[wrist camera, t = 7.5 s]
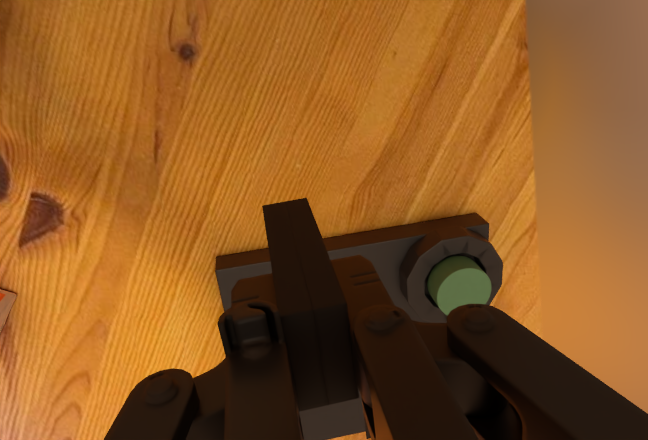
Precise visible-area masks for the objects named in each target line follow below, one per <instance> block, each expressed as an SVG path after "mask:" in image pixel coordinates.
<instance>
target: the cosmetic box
mask: <svg viewBox="0 0 648 440" xmlns="http://www.w3.org/2000/svg"><path fill="white" fill-rule="evenodd" d="M16 296H17V295H16V294H15V293H12V292H8V291H5V290H1V289H0V333H1V331H2V328H3V326H4V324H5V322H6V319H7V317H8V314H9V312H10V310H11V307H12V305H13V303H14V301H15V299H16Z"/></svg>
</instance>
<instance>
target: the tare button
mask: <svg viewBox="0 0 648 440" xmlns="http://www.w3.org/2000/svg"><path fill="white" fill-rule="evenodd" d="M427 287H428V291H429V294H430V295H431V297H432V298H433V300H434V301H435V303H436V304H437V305H438V307H439V308H440V310H441V311H442V312H443V313H444V314H446V315H448V314H449V313H450V311H451V310H453V309H455V308H456V307H458V306H462V305H466V304H486V302H487V301H488V299H489V297H490V294H491V281H490V279H489V277H488V276H487V274H486V273H485V272H484V271H483V270H482V269H481V268H480V267H479V266H478V265H477V264H476V263H475V262H474V261H473V260H472V259H470V258H468V257H465V256H451V257H448V258H446V259H444V260H442V261H440V262H439V263H438V264H437V265H436V266H435V267H434V268H433V269H432V271H431V273H430V275H429V277H428V282H427Z"/></svg>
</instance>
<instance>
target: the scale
mask: <svg viewBox="0 0 648 440" xmlns="http://www.w3.org/2000/svg"><path fill="white" fill-rule="evenodd" d="M488 237H489V223H488V222H486V221H485V220H484V219H483V218H482V217H481V216H479V215H478V214H477V213H474V214H468V215H462V216H456V217H450V218H444V219H438V220H432V221H426V222H420V223H414V224H409V225H403V226H397V227H391V228H385V229H379V230H373V231H367V232H361V233H355V234H349V235H343V236H337V237H332V238H326V239H323V242H324V245H325V247H326V250H327V253H328V255H329V258H330V260H335V259H340V258H345V257H350V256H355V255H361V256H363V257H364V258H366V259H368V260H369V261H371V262H372V264H373V266H374V268H375V270H376V273H378V275H379V277H380V280H381V281H382V283H383V285H384V286H385V288H386V290H387V292H388V294H389V296H390V298H391V299H392V301H393V303H394V305H395V306H396V307H399V308H401V309H403V310H404V311H405V312H406V313H407V314H408V315H409V316H410V318H411V320H414V321H418V322H425V323H447V316H448V315H446V314H444V313H443V312H442V311H441V310H440V308H439V307H438V305H437V304H436V303H435V301H434V300H433V298H432V297H431V295H430V294H429V291H428V287H427V282H428V277H429V275H430V273H431V271H432V269H433V268H434V267H435V266H436V265H437V264H438V263H439V262H440V261H442V260H444V259H446V258H448V257H451V256H465V257H468V258H470V259H472V260H473V261H474V262H475V263H476V264H477V265H478V266H479V267H480V268H481V269H482V270H483V271H484V272H485V273H486V274H487V276H488V277H489V279H490V281H491V294H490V297H489V299H488V301H487V302H486V304H485V305H490V303H491V302H492V300H493V298H494V297H495V295H496V294H497V292H498V290H499V289H500V287H501V285H502V270H503V262H502V260H501V258H500V257H499V255H498V254H497V252H496V250H495V249H494V247H493V246H492V244H491V243H490V242H488ZM215 272H216V276H217V281H218V285H219V290H220V294H221V299H222V303H223V308H224V312H225V311H226V310H227V309H229V308H231V304H232V303H231V290H232V289H233V287H234V286H235V284H236V283H237V281H238V280H240V279H245V278H250V277H255V276H260V275H265V274H270V273H272V267H271V261H270V254H269V248H266V249H260V250H254V251H249V252H243V253H237V254H231V255H225V256H219V257H216V268H215ZM358 391H359V388H358ZM299 414H300V419H301V424H302V429H303V435H304V440H327V439H332V438H336V437H341V436H346V435H351V434H355V433H360V432H365V431H366V428H365V421H364V413H363V405H362V398H361V394H360V391H359V398H357V399H353V400H349V401H344V402H340V403H335V404H331V405H326V406H322V407H318V408H313V409H309V410H304V411H300V412H299Z"/></svg>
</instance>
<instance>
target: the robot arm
mask: <svg viewBox="0 0 648 440" xmlns="http://www.w3.org/2000/svg"><path fill="white" fill-rule="evenodd" d="M262 207H263V213H264V220H265V227H266V234H267V240H268V247H269V254H270V261H271V267H272V273H270V274H265V275H260V276H255V277H250V278H245V279H240V280H238V281H237V283H236V284H235V286H234V287H233V289H232V290H231V303H232V304H231V308H229V309H227V310H226V311H225V312H224V313H223V314H222V315H221V316H220V318H219V321H218V327H219V331H220V335H221V339H222V343H223V346H224V350H225V354H226V358H225V359H224V360H223V361H222V362H221V363H220V364H219V365H217V366H216V367H215V368H213V369H211V370H210V371H208V372H206V373H204V374H201V375H199V376H197V377H195V378H192V376H191V374H190V373H188V372H186V371H184V370H182V369H167V370H162V371H159V372H156V373H154V374H152V375H149V376H148V377H146V378H145V379H143V380H142V381H141V382H139V383H138V384H137V385H136V386H135V388H134V389H133V390H132V391H131V393H130V394H129V396H128V398H127V400H126V401H125V403H124V405H123V407H122V408H121V410H120V412H119V414H118V415H117V417H116V419H115V421H114V422H113V424H112V426H111V428H110V429H109V431H108V433H107V435H106V436H105V438H104V440H304V435H303V429H302V424H301V419H300V414H299V412H300V411H304V410H309V409H313V408H318V407H322V406H326V405H331V404H335V403H340V402H344V401H349V400H353V399H357V398H359V391H360V394H361V398H362V405H363V413H364V421H365V428H366V436H367V439H368V438H371V439H372V440H648V414H647V413H646V412H644V411H643V410H642V409H640V408H639V407H637V406H636V405H634V404H633V403H631V402H630V401H629V400H627V399H626V398H625V397H623V396H622V395H620V394H619V393H617V392H616V391H615V390H613V389H612V388H610V387H609V386H607V385H606V384H604V383H603V382H602V381H600V380H599V379H598V378H596V377H595V376H593V375H592V374H591V373H589V372H588V371H586V370H585V369H583V368H582V367H581V366H579V365H578V364H576V363H575V362H573V361H572V360H571V359H569V358H568V357H566V356H565V355H564V354H562V353H561V352H559V351H558V350H557V349H555V348H554V347H552V346H551V345H549V344H548V343H547V342H545V341H544V340H542V339H541V338H540V337H538V336H537V335H535V334H534V333H532V332H531V331H530V330H528V329H527V328H525V327H524V326H523V325H521V324H520V323H518V322H517V321H515V320H514V319H513V318H511V317H510V316H508V315H507V314H506V313H504V312H503V311H501V310H499V309H497V308H495V307H493V306H489V305H485V304H466V305H462V306H458V307H456V308H455V309H453V310H451V311H450V313H449V314H448V316H447V323H425V322H418V321H414V320H411V318H410V316H409V315H408V314H407V313H406V312H405V311H404V310H403V309H401V308H399V307H396V306H395V305H394V303H393V301H392V299H391V298H390V296H389V294H388V292H387V290H386V288H385V286H384V285H383V283H382V281H381V280H380V277H379V275H378V273H376V270H375V268H374V266H373V264H372V262H371V261H369V260H368V259H366V258H364V257H363V256H361V255H355V256H350V257H345V258H340V259H335V260H330V258H329V255H328V253H327V250H326V247H325V245H324V242H323V239H322V237H321V234H320V232H319V229H318V226H317V224H316V221H315V219H314V216H313V213H312V211H311V208H310V206H309V203H308V200H307V198H302V199H297V200H291V201H286V202H280V203H275V204H270V205H264V206H262ZM358 388H359V391H358Z"/></svg>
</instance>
